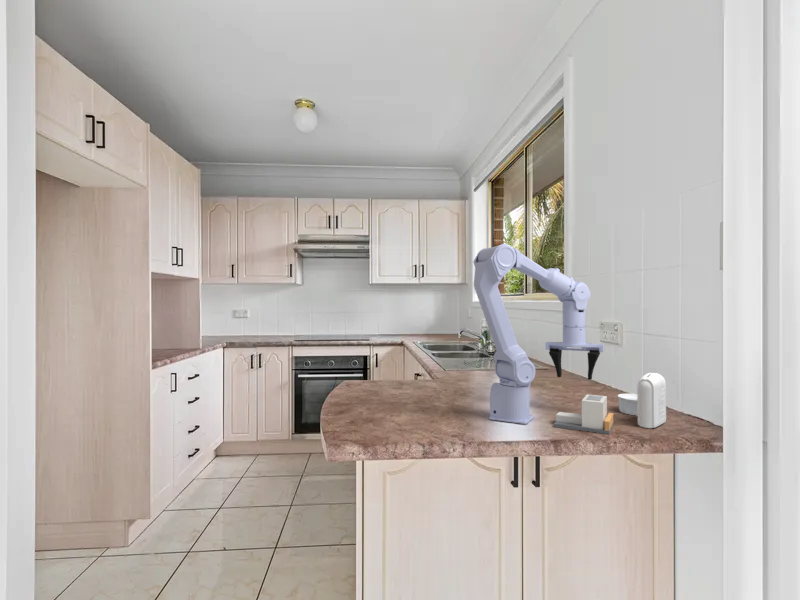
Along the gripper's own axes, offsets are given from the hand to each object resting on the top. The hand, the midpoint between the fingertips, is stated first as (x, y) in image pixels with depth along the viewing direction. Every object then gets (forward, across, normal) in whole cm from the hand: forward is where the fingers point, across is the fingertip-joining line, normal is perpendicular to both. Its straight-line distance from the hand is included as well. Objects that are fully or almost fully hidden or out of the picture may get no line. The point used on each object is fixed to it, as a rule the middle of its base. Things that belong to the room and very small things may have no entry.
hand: (574, 377), depth 119 cm
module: (+9, -6, +12) cm, 16 cm away
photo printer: (+10, -18, +2) cm, 21 cm away
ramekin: (+10, -14, -9) cm, 19 cm away
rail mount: (+9, -4, +12) cm, 16 cm away
